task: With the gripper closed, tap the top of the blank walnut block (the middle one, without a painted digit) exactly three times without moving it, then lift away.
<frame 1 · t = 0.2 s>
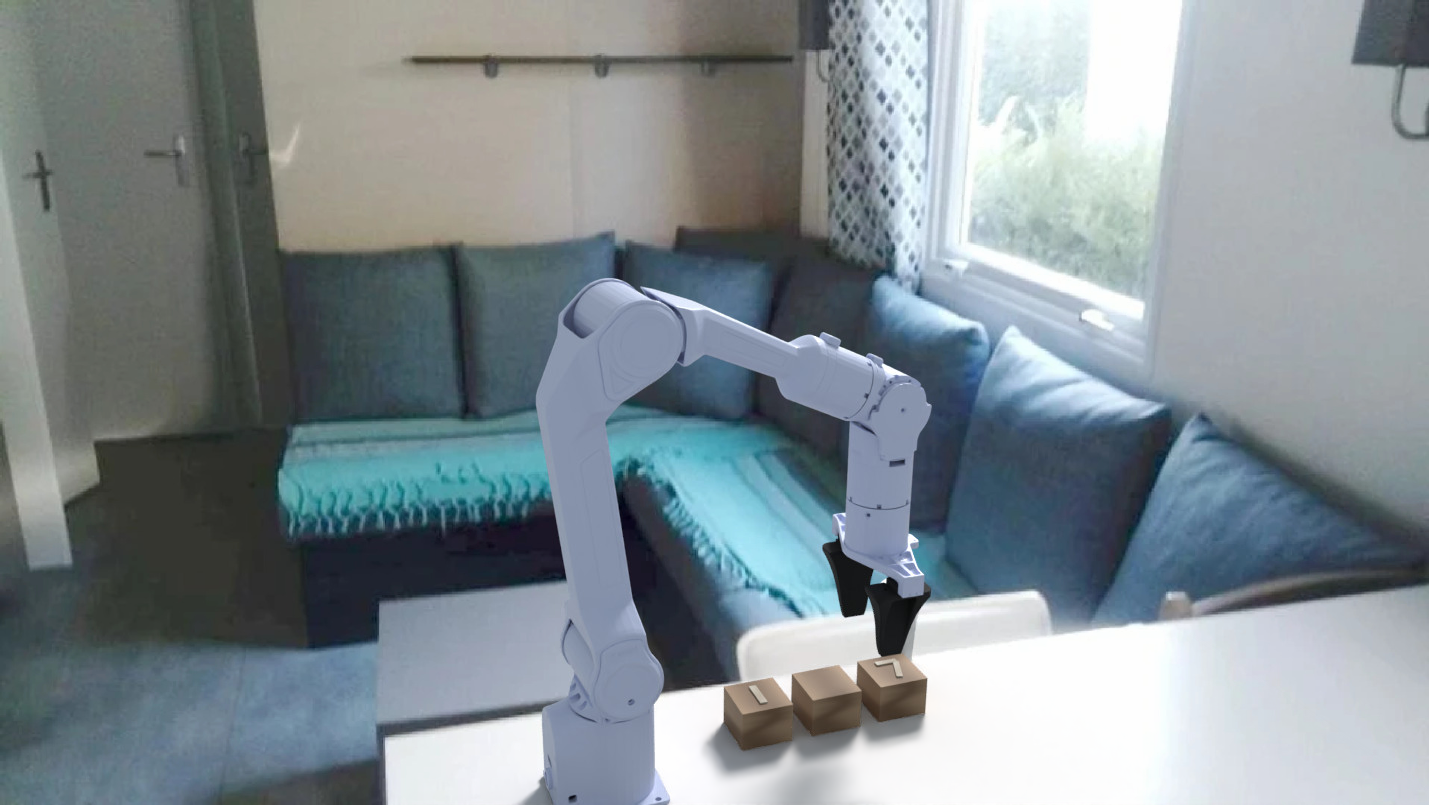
hand: (870, 633, 107), 10 cm above the table, fingers open, 7 cm apart
digit block one: (757, 732, 108), on the table
digit block seven: (889, 705, 113), on the table
blank block: (825, 718, 111), on the table
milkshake: (896, 658, 122), on the table
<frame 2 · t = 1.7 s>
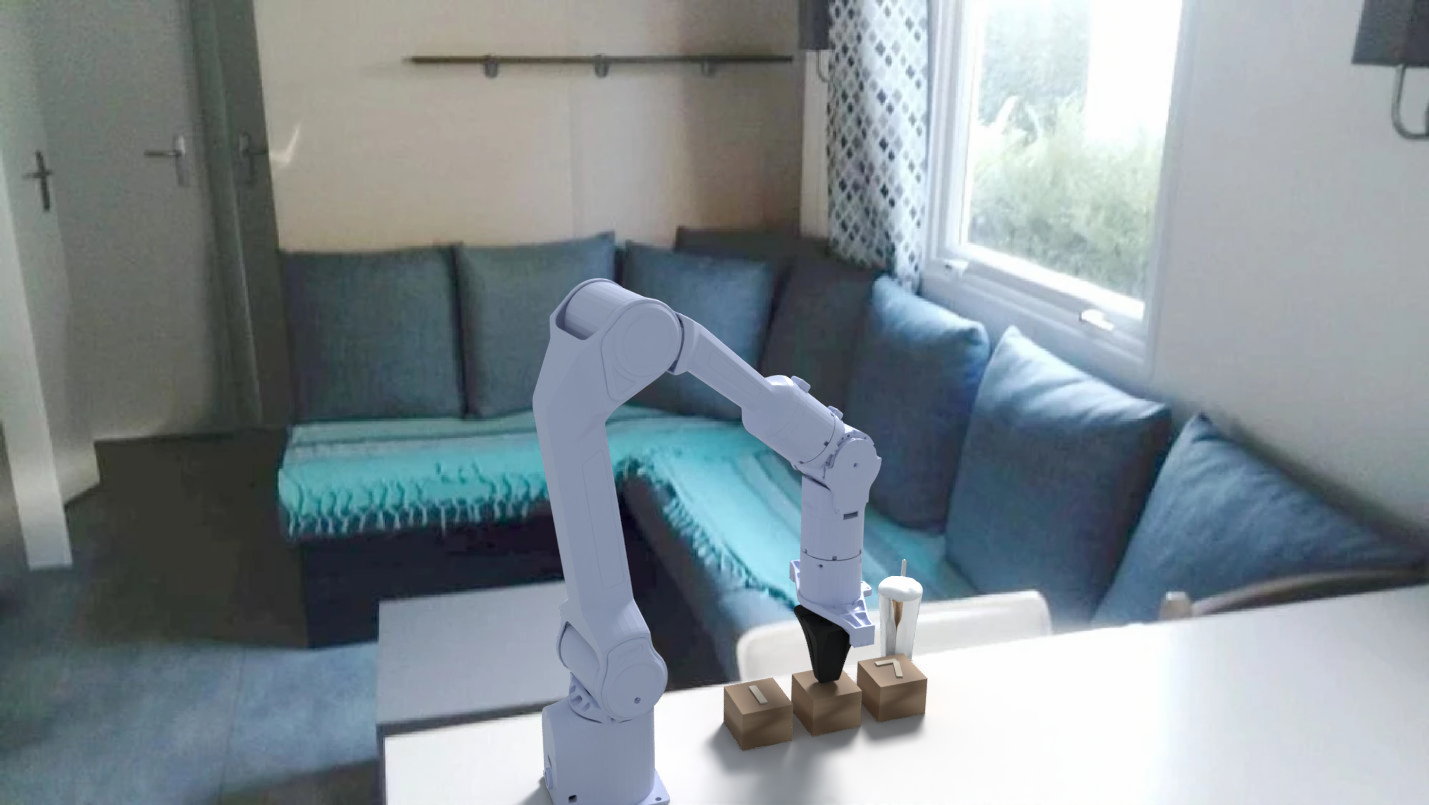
hand: (826, 678, 109), 4 cm above the table, fingers closed
nothing on the table moved.
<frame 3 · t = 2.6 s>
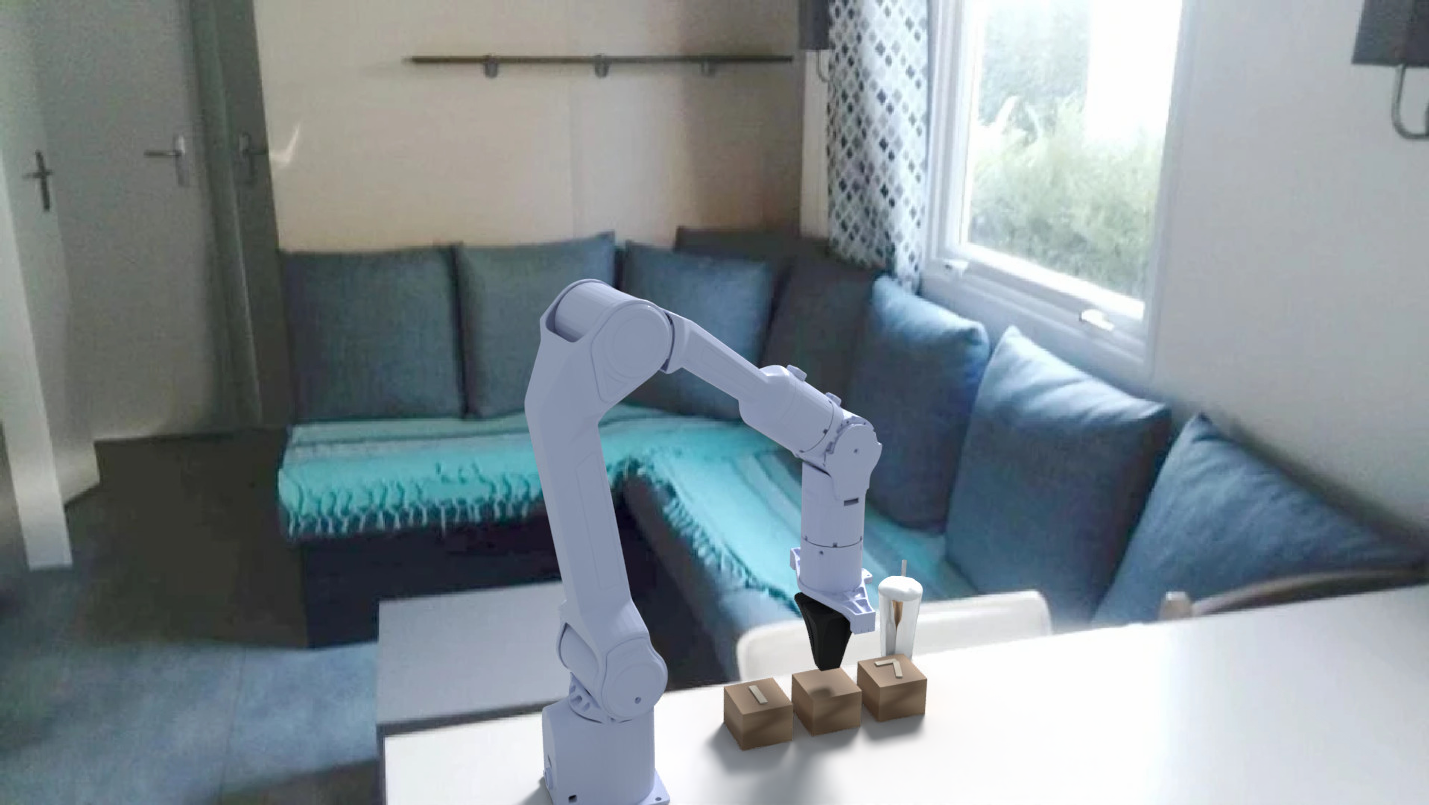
hand: (827, 666, 109), 6 cm above the table, fingers closed
nothing on the table moved.
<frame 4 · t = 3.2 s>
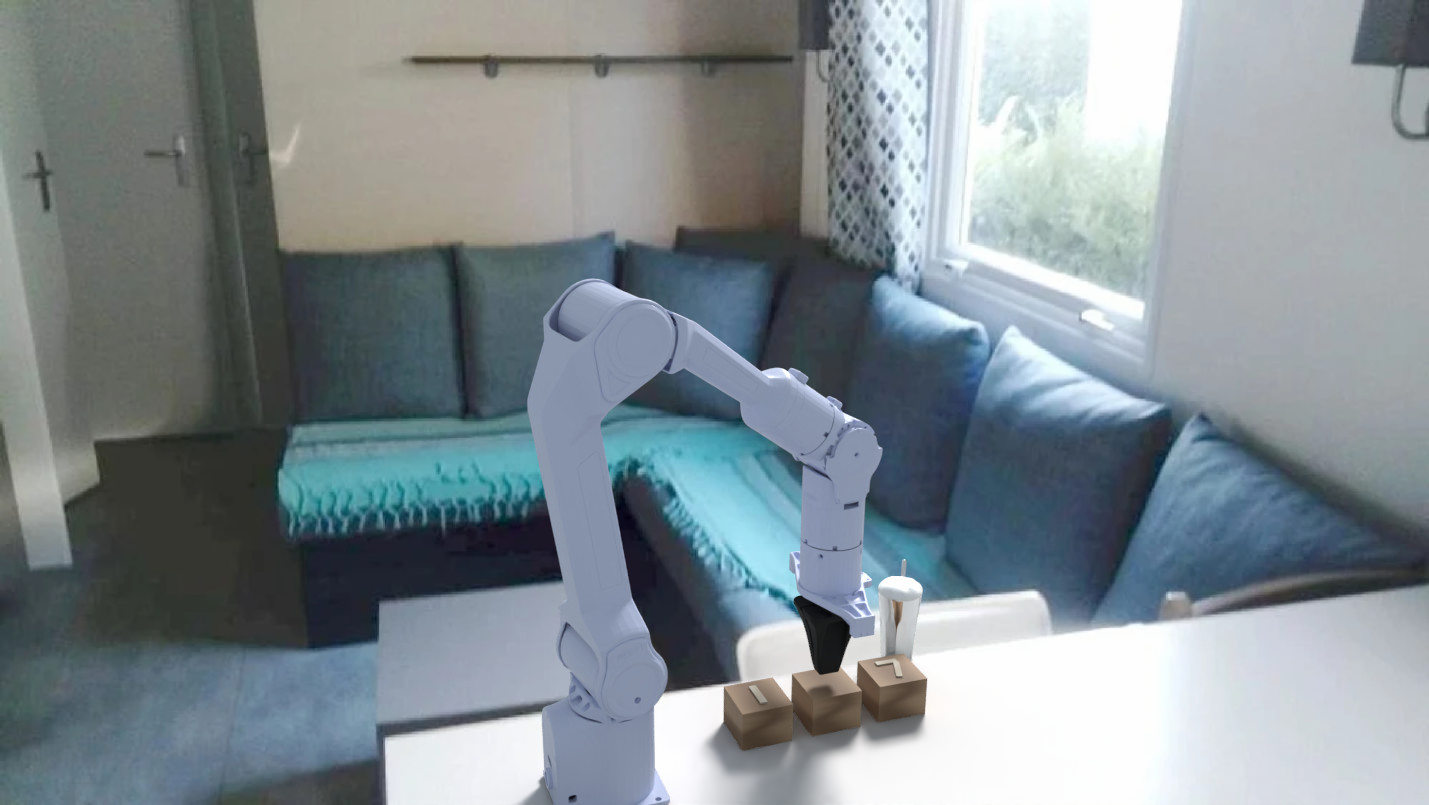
hand: (826, 669, 109), 5 cm above the table, fingers closed
nothing on the table moved.
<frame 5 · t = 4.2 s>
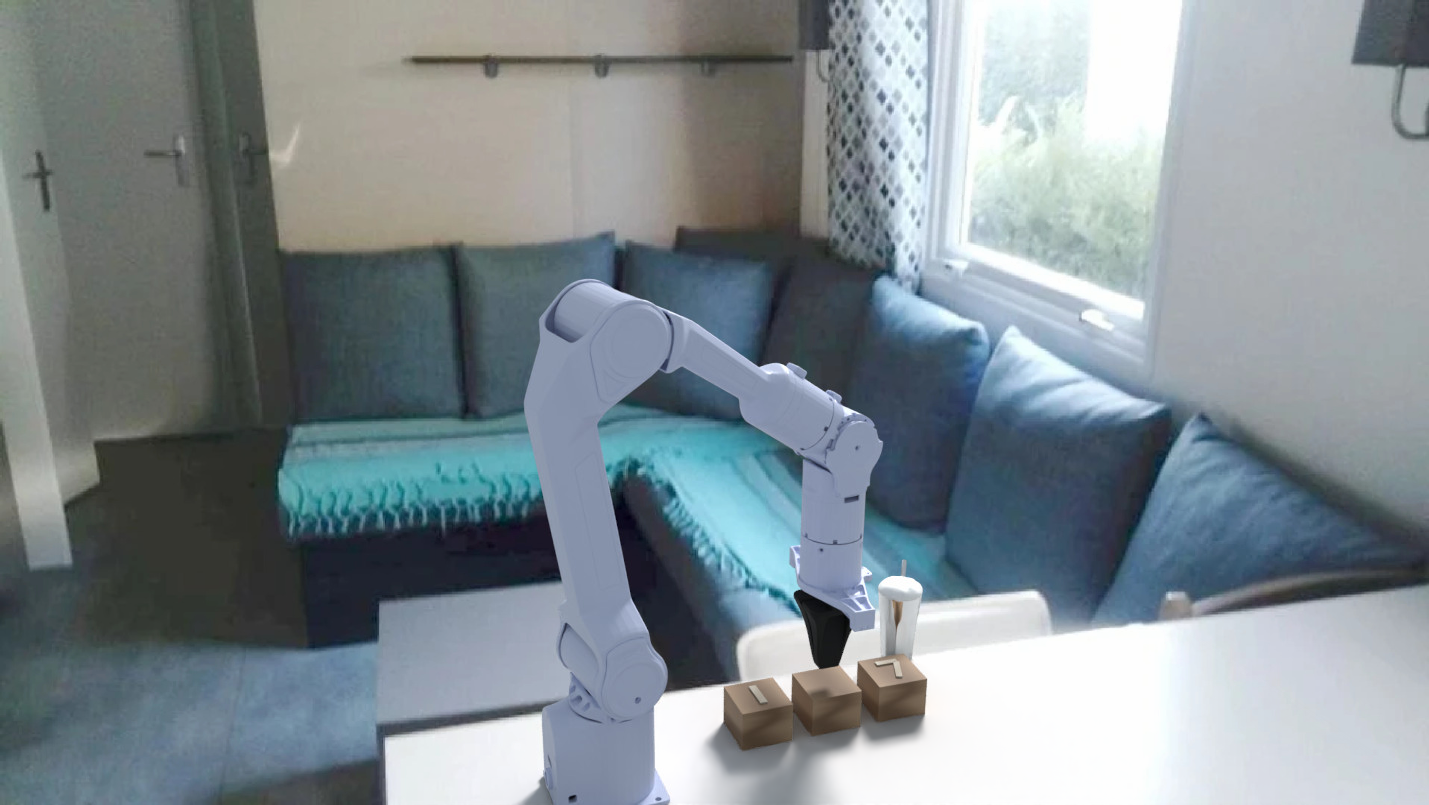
hand: (826, 664, 109), 6 cm above the table, fingers closed
nothing on the table moved.
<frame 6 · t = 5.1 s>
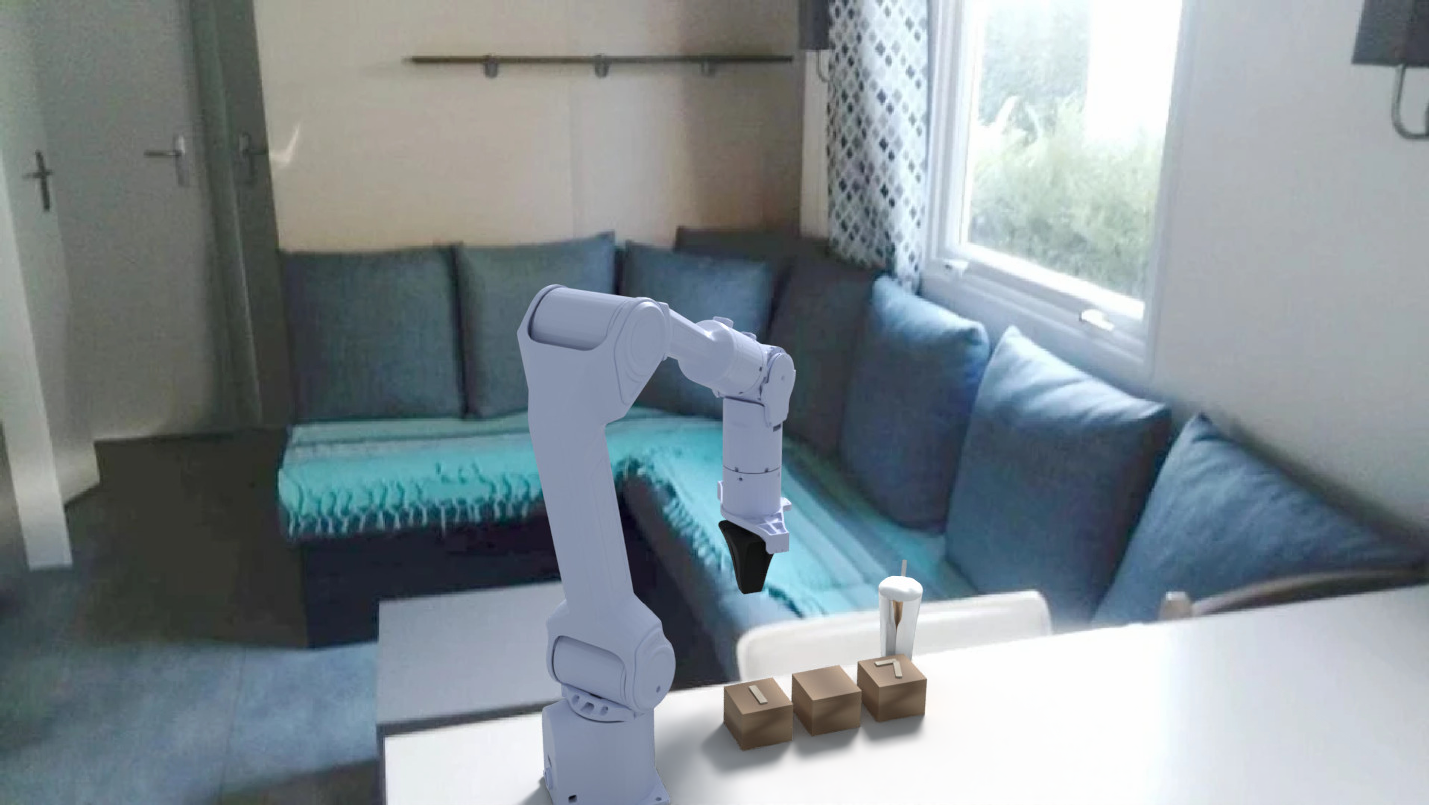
hand: (750, 590, 115), 9 cm above the table, fingers closed
nothing on the table moved.
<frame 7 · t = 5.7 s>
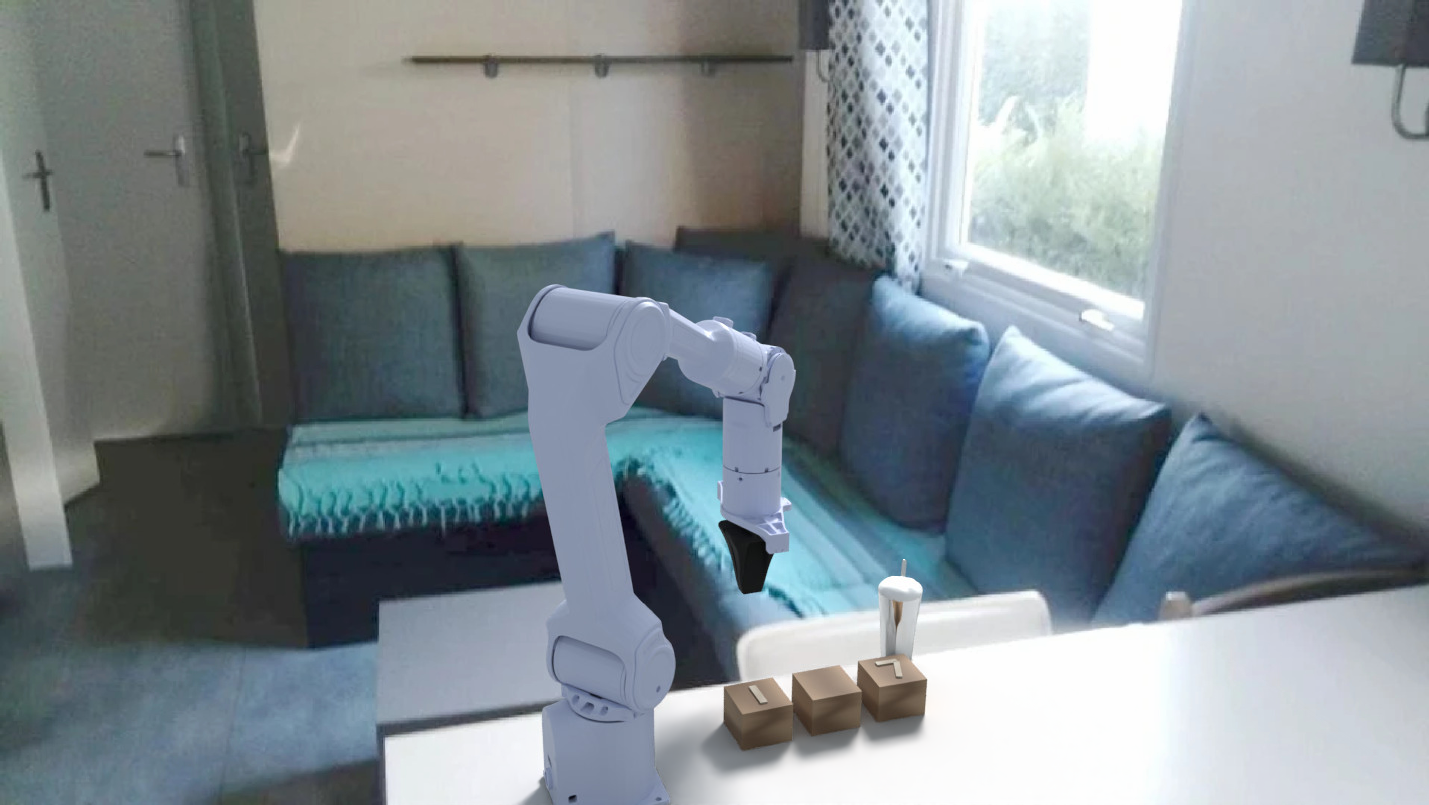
hand: (750, 590, 115), 9 cm above the table, fingers closed
nothing on the table moved.
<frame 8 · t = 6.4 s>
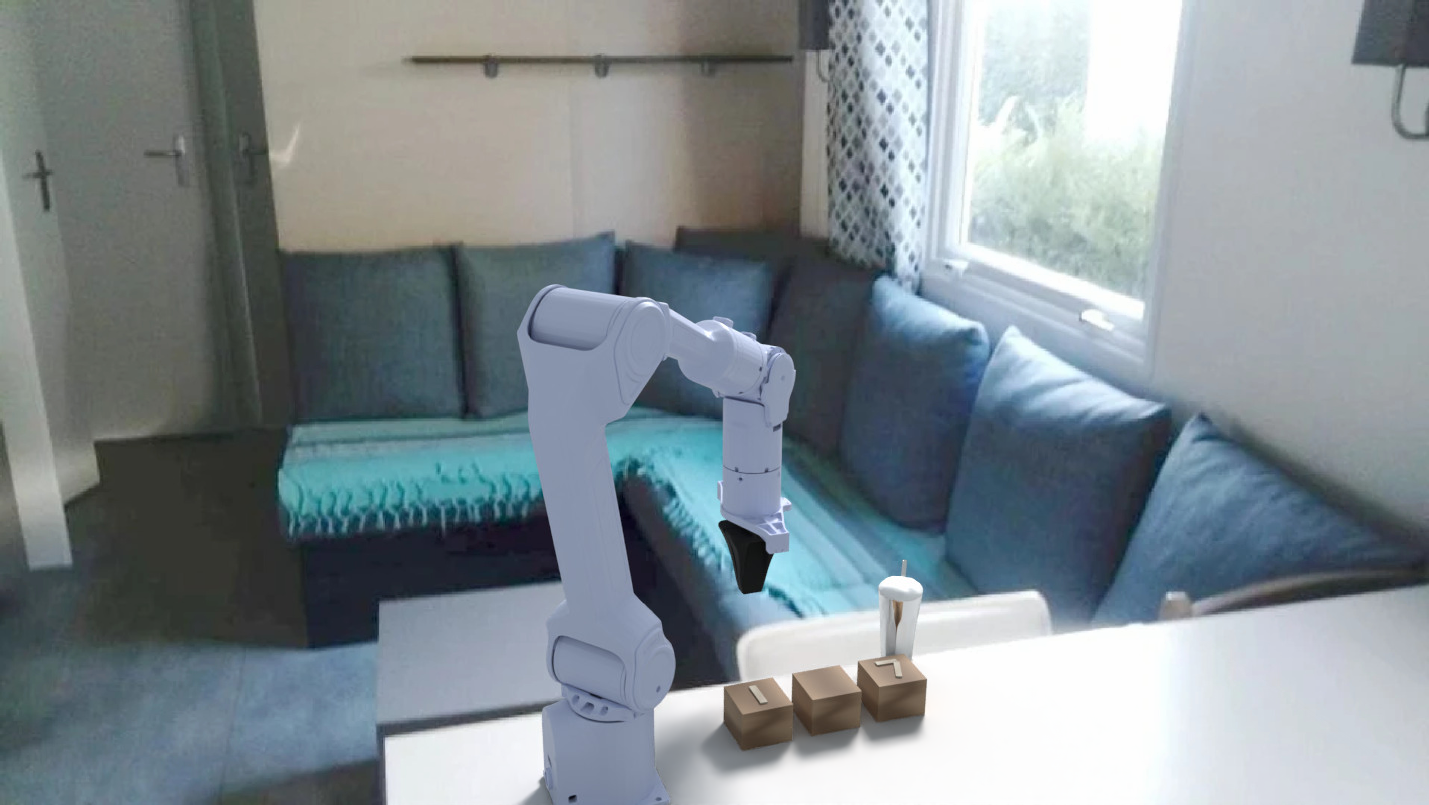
hand: (750, 590, 115), 9 cm above the table, fingers closed
nothing on the table moved.
at the end: blank block moved 0.2 cm from its start; blank block tilted 0°; blank block touching table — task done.
